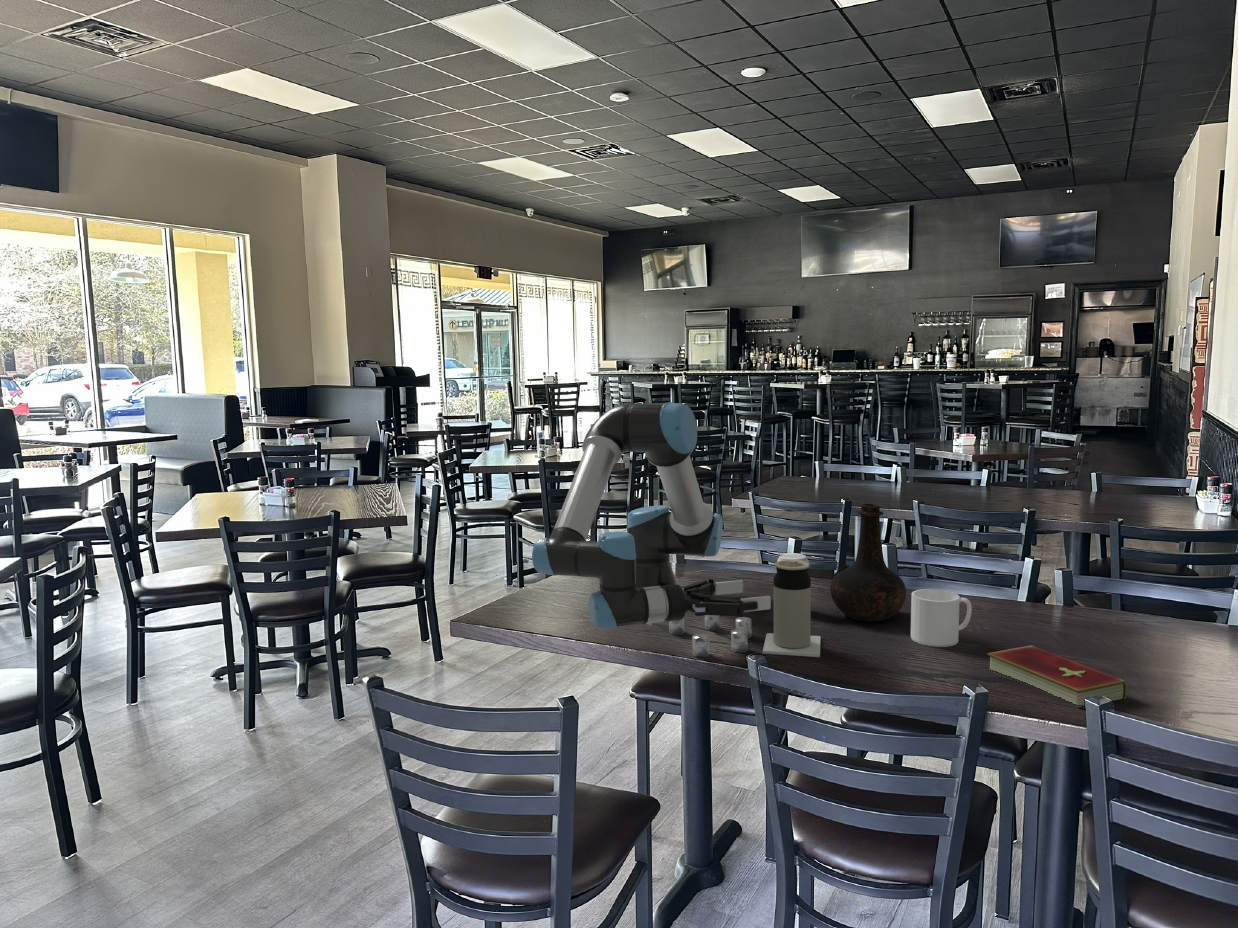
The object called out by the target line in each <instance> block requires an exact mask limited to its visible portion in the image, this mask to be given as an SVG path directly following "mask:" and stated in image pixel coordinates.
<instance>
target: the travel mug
mask: <svg viewBox="0 0 1238 928" xmlns="http://www.w3.org/2000/svg"><path fill="white" fill-rule="evenodd" d="M774 566H775V568H776V573H775V575H774V576H773V633H774V643H775V644H777V645H779V646H781V647H784V648H792V649H797V648H803V647H806V646H808V645H809V644H810V636H812V635H811V626H812V625H811V624H812V623H811V619H812V618H811V617H812V616H811V615H812V614H811V613H812V612H811V611H812V609H811V608H812V607H811V606H812V605H811V604H812V601H811V600H812V599H811V594H812V591H811V590H812V584H811V583H812V580H811V579H812V578H811V577H810V575H809V573H808V572H809V568H810V562H809V563H807V562H804V561H799V560H783V561H778V562H777V561H776V562H775V563H774Z"/></svg>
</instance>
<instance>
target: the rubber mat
mask: <svg viewBox="0 0 1238 928" xmlns="http://www.w3.org/2000/svg"><path fill="white" fill-rule="evenodd" d="M762 654H766V655H768V654H769V655H782V656H783V655H784V656H794V657H795V656H797V657H811V658H813V657H814V658H820V657H821V635H810V644H809V645H808V646H806V647H803V648H797V649H792V648H784V647H781V646H779V645H777V644H775V643H774V632H773V633H772V632H771V633H770V632H769V633H768V632H767V633H766V635H765V639H764V644H763V649H762Z"/></svg>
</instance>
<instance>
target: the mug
mask: <svg viewBox="0 0 1238 928" xmlns="http://www.w3.org/2000/svg"><path fill="white" fill-rule="evenodd" d="M960 603H965V605H966V615H965V618H964V620H963V622H962V623H961V624H960V623H959V621H960ZM910 604H911V605H910V608H911V609H910V639H911V640H912V641H913V642H914V643H916V642H917V644H920V645H921V646H926V645H927V646H926V647H931V648H933V647H934V648H949V646H950V647H953V645H954V646H956V645H957V644H959V631H962V630H963V629H966V627H967V626H968V625H969V623H970V621H971V618H972V612H973V611H972V603H971V601H970V600H969V599H968V598H967V597H960V595H959V594H957V593H955V592H952V591H949V590H944V589H936V588H935V589H934V588H924V589H923V588H922V589H917V590H914V591H912V592H911V603H910Z"/></svg>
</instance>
